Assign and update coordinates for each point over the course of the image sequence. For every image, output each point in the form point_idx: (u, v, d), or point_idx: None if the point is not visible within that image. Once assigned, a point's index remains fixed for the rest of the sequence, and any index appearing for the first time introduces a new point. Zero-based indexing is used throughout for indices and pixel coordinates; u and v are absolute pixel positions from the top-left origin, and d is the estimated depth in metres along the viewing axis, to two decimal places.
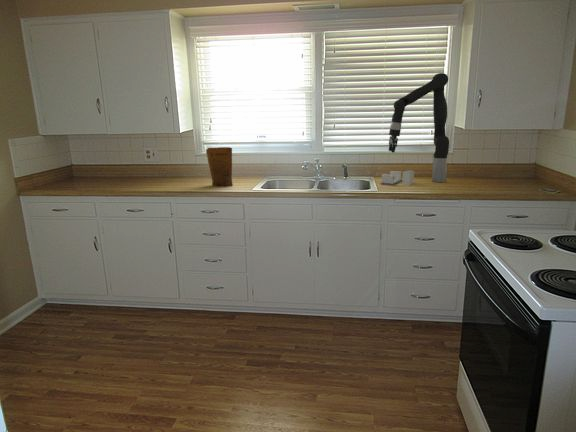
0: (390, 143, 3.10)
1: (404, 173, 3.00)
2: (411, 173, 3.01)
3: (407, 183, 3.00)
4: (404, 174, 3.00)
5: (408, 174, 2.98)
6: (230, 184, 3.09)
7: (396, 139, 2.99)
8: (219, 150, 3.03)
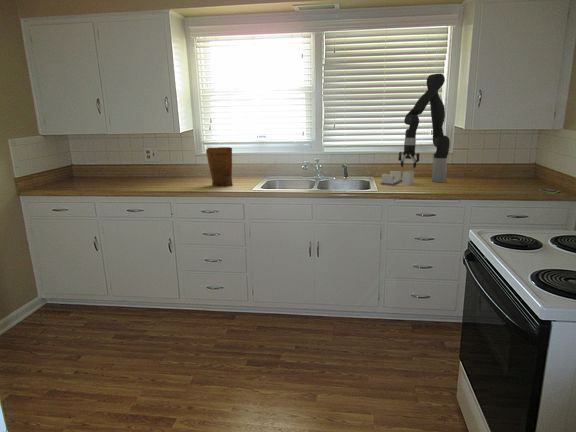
0: (403, 159, 3.02)
1: (404, 173, 3.00)
2: (411, 173, 3.01)
3: (407, 183, 3.00)
4: (404, 174, 3.00)
5: (408, 174, 2.98)
6: (230, 184, 3.09)
7: (418, 154, 2.96)
8: (219, 150, 3.03)
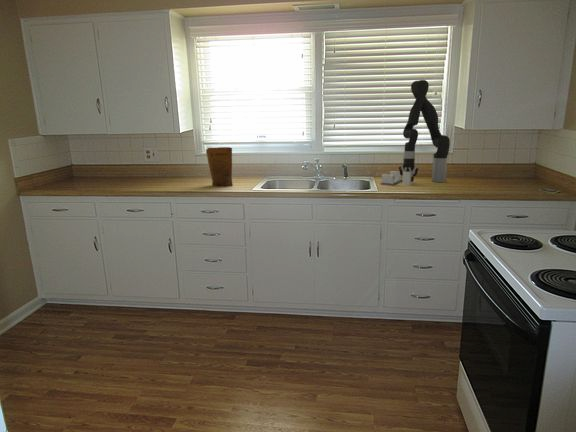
0: None
1: (404, 173, 3.00)
2: None
3: (407, 183, 3.00)
4: (404, 174, 3.00)
5: (408, 174, 2.98)
6: (230, 184, 3.09)
7: None
8: (219, 150, 3.03)
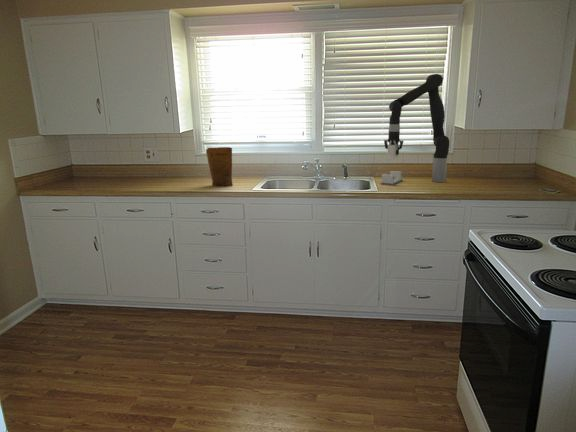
0: None
1: (389, 146, 3.01)
2: None
3: (392, 156, 3.01)
4: (389, 147, 3.01)
5: (393, 147, 2.99)
6: (230, 184, 3.09)
7: (402, 142, 2.99)
8: (219, 150, 3.03)
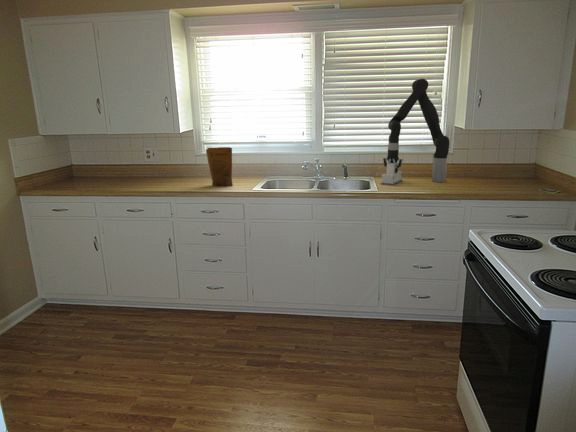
0: None
1: (388, 164, 3.04)
2: None
3: (391, 174, 3.04)
4: (388, 165, 3.04)
5: (392, 165, 3.03)
6: (230, 184, 3.09)
7: (401, 160, 3.03)
8: (219, 150, 3.03)
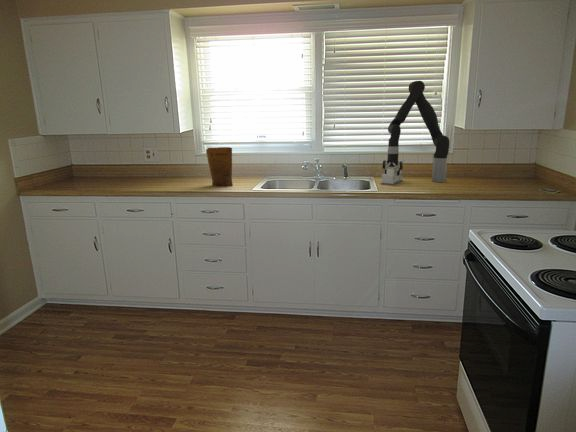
0: (387, 167, 3.09)
1: (388, 170, 3.05)
2: (395, 170, 3.06)
3: None
4: (388, 171, 3.05)
5: (392, 171, 3.04)
6: (230, 184, 3.09)
7: (402, 162, 3.03)
8: (219, 150, 3.03)
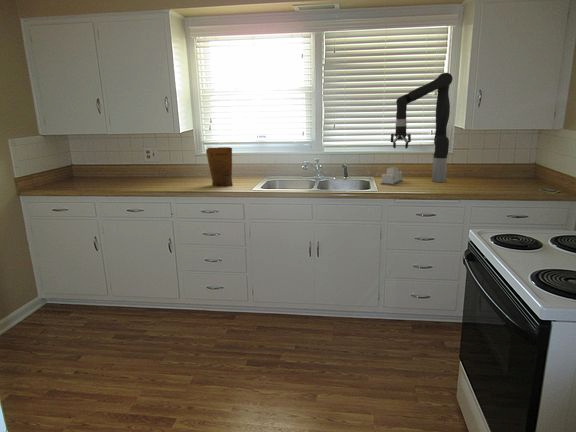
0: (395, 140, 3.10)
1: (388, 170, 3.05)
2: (395, 170, 3.06)
3: None
4: (388, 171, 3.05)
5: (392, 171, 3.04)
6: (230, 184, 3.09)
7: (410, 135, 3.05)
8: (219, 150, 3.03)
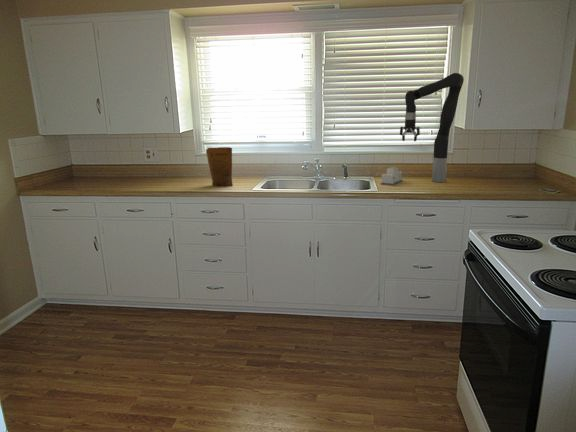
0: (405, 133, 3.19)
1: (388, 170, 3.05)
2: (395, 170, 3.06)
3: None
4: (388, 171, 3.05)
5: (392, 171, 3.04)
6: (230, 184, 3.09)
7: (419, 128, 3.14)
8: (219, 150, 3.03)
